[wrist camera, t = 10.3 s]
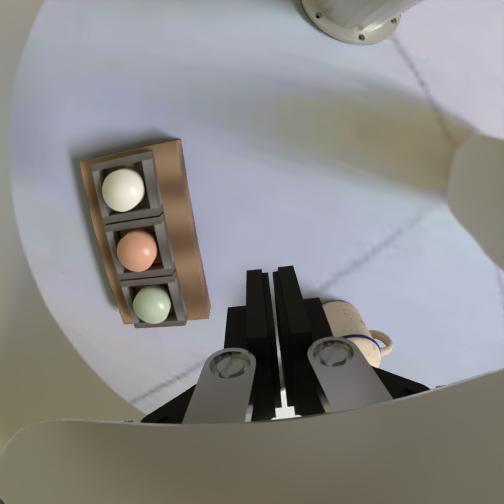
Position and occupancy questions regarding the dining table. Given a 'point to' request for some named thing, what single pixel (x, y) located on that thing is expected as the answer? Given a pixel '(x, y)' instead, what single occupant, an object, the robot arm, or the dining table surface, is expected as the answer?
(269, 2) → the dining table surface
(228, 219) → the dining table surface
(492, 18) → the dining table surface
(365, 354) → the teacup with lid
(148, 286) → the sage button
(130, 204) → the cream button
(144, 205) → the button console
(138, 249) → the terracotta button
